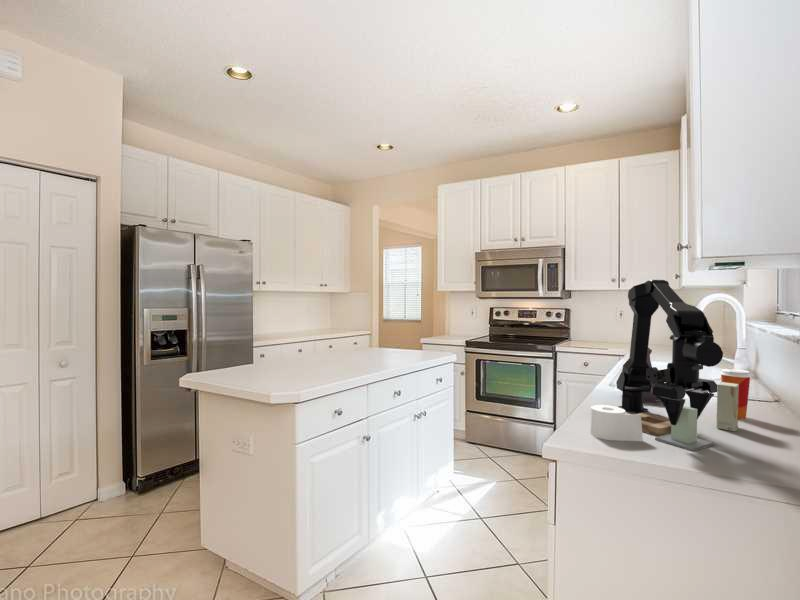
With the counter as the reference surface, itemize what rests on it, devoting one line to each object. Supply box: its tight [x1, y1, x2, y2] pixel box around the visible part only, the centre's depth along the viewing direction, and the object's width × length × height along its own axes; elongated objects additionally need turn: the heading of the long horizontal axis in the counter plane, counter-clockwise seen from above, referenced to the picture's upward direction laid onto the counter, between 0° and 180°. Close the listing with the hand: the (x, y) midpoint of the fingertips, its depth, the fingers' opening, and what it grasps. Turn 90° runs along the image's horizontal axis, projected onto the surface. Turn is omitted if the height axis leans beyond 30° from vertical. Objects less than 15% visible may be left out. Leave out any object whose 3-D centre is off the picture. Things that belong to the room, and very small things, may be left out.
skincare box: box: [716, 382, 739, 432], centre depth 125 cm, size 6×4×12 cm
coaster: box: [654, 433, 714, 452], centre depth 112 cm, size 9×9×1 cm
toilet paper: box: [589, 404, 644, 442], centre depth 117 cm, size 8×11×7 cm
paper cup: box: [719, 368, 752, 420], centre depth 136 cm, size 8×8×14 cm
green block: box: [670, 405, 698, 444], centre depth 112 cm, size 4×4×8 cm
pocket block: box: [633, 412, 671, 437], centre depth 124 cm, size 12×12×2 cm
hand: (684, 422), depth 112 cm, fingers open, 9 cm apart
